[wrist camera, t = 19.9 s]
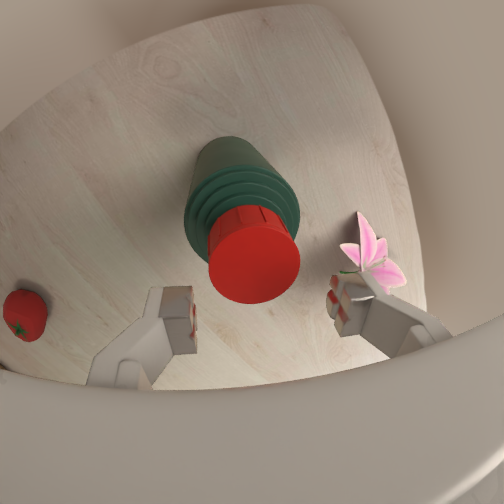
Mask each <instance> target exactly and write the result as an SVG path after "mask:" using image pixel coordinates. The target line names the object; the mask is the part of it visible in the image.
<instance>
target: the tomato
mask: <svg viewBox="0 0 504 504" xmlns="http://www.w3.org/2000/svg"><path fill="white" fill-rule="evenodd" d="M47 316H48V313H47V307H46V304H45V303H44V301H43V300H42V298H41V297H40V296H38V295H37V294H36V293H34V292H31V291H27V290H22V289H20V290H16V291H12V292H11V293H10V294H9V295H8V296H7V298H6V300H5V302H4V305H3V318H4V320H5V322H6V323H7V325H8V327H9V328H10V329H11V330H12V332H13V333H14V334H15V336H17V337H18V338H20V339H22V340H23V341H26V342H32V341H35V340H37V339H38V338H40V336H41V335H42V334H43V332H44V329H45V325H46V321H47Z"/></svg>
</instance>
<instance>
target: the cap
mask: <svg viewBox="0 0 504 504" xmlns="http://www.w3.org/2000/svg"><path fill="white" fill-rule="evenodd" d="M217 219H218V220H217V221H216V222H215V223H214V225H213V227H212V229H211V231H210V234H209V235H208V259H209V277H210V279H211V282H212V284H213V286H214V287H215V288H216V290H217V291H218V292H219V293H220V294H222V295H223V296H224V297H226V298H228V299H230V300H232V301H235V302H238V303H243V304H257V303H262V302H266V301H269V300H272V299H274V298H276V297H278V296H279V295H281V294H282V293H284V292H285V291H286V290H287V289H288V288H289V287H290V286H291V285H292V283H293V282H294V281H295V279H296V277H297V275H298V272H299V268H300V255H299V251H298V248H297V246H296V244H295V243H294V241H293V239H292V237H291V235H290V234H289V232H288V230H287V228H286V226H285V225H284V223H283V221H282V219H281V218H280V216H279V215H277V214H275V213H274V212H273V211H271V210H269V209H267V208H265V207H262V206H261V205H259V206H257V205H243V206H239V207H238V206H237V207H236V208H233V209H231V210H229V211H227V212H226V213H224V214H223V215H222V216H220V217H218V218H217Z"/></svg>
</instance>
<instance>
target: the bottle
mask: <svg viewBox="0 0 504 504" xmlns="http://www.w3.org/2000/svg"><path fill="white" fill-rule="evenodd" d="M243 205H257V206H259V205H261V206H262V207H265V208H267V209H269V210H271V211H273V212H274V213H275V214H277V215H279V216H280V218H281V219H282V221H283V223H284V225H285V226H286V228H287V230H288V232H289V234H290V235H291V237H292V239H293V241H294V239H295V237H296V234H297V231H298V228H299V222H300V209H299V204H298V200H297V197H296V195H295V193H294V191H293V190H292V188H291V187H290V185H289V184H288V183H287V182H286V181H285V180H284V179H283V177H282V176H281V175H280V174H279V173H278V172H277V171H276V170H275V169H274V168H273V167H272V166H271V165H270V164H269V163H268V161H267V160H266V159H265V158H264V157H263V156H262V155H261V154H260V153H259V152H258V151H257V150H256V149H255V148H254V147H253V146H252V145H251V144H250V143H248V142H247V141H245V140H243V139H241V138H238V137H233V136H226V137H220V138H217V139H215V140H213V141H211V142H210V143H208V144H207V145H206V146H205V147H204V148H203V150H202V151H201V153H200V155H199V157H198V160H197V164H196V167H195V171H194V175H193V179H192V183H191V187H190V191H189V195H188V199H187V204H186V208H185V213H184V228H185V233H186V236H187V239H188V241H189V243H190V245H191V247H192V248H193V249H194V251H195V252H196V253H197V254H198V255H199V256H200V257H201V258H202V259H203V260H204V261H206V262H207V263H208V264H209V259H208V235H209V234H210V231H211V229H212V227H213V225H214V223H215V222H216V221H217V220H218V219H217V218H218V217H220V216H222V215H223V214H224V213H226V212H227V211H229V210H231V209H233V208H236V207H237V206H238V207H239V206H243Z"/></svg>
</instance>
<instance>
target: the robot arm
mask: <svg viewBox="0 0 504 504" xmlns="http://www.w3.org/2000/svg"><path fill="white" fill-rule="evenodd" d="M329 285H330V286H331V288H332V289H331V290H330V291H329V292H328V294H327V298H326V308H327V311H328V314H329V316H330V317H331V318H332V319H334V320H335V324H334V326H335V328H336V330H337V332H338V334H339V336H340V337H346V336H352V335H358V334H360V336H362V337H363V338H364V339H366V340H367V341H368V342H370V343H371V344H372V345H374V346H375V347H376V348H378V349H379V350H380V351H382V352H383V353H384V354H385V355H387V356H388V357H389V358H391V359H388V360H384V361H381V362H377V363H373V364H370V365H366V366H362V367H358V368H354V369H350V370H345V371H341V372H336V373H332V374H327V375H322V376H316V377H311V378H305V379H300V380H293V381H287V382H280V383H273V384H265V385H256V386H247V387H236V388H223V389H205V390H153V388H152V385H153V384H154V382H155V381H156V380H157V378H158V377H159V375H160V374H161V373H162V371H163V370H164V369H165V367H166V366H167V364H168V363H169V362H170V360H171V359H172V358H173V355H181V354H197V335H196V331H197V312H196V305H195V304H194V292H193V287H192V286H170V287H151V288H150V289H149V292H148V296H147V300H146V304H145V308H144V312H143V316H142V318H138V319H137V320H135V321H134V322H133V323H132V324H131V325H130V326H128V327H127V328H126V329H125V330H124V331H123V332H122V333H120V334H119V335H118V336H117V337H116V338H115V339H114V340H112V341H111V342H110V343H109V344H108V345H107V346H106V347H105V348H103V349H102V350H101V351H100V352H99V353H98V354H97V355H96V356H94V358H93V362H92V365H91V368H90V372H89V375H88V379H87V382H86V385H79V384H72V383H65V382H59V381H53V380H47V379H42V378H37V377H32V376H28V375H23V374H19V373H15V372H11V371H7V370H3V369H0V504H504V314H502V315H500V316H498V317H496V318H494V319H492V320H490V321H488V322H486V323H484V324H482V325H480V326H477V327H475V328H473V329H471V330H469V331H466V332H464V333H462V334H459V335H457V336H454V337H453V336H452V335H451V334H450V332H449V331H448V330H447V329H446V327H445V326H444V325H443V324H442V322H441V321H440V320H439V319H438V318H437V317H435V316H433V315H431V314H429V313H427V312H425V311H423V310H421V309H419V308H417V307H415V306H413V305H411V304H409V303H407V302H405V301H403V300H401V299H399V298H397V297H395V296H393V295H387V293H386V292H385V291H384V289H383V288H382V287H381V286H380V284H379V283H378V282H377V281H376V279H375V278H374V277H373V276H372V275H371V273H370V272H368V271H362V272H356V273H350V274H340V275H332V277H331V279H330V283H329Z"/></svg>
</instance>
